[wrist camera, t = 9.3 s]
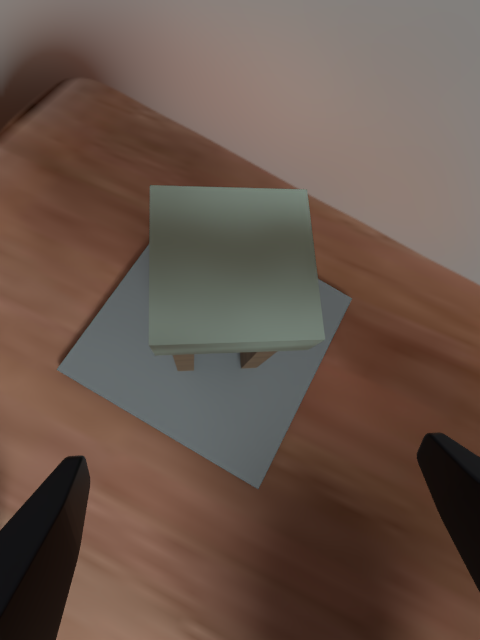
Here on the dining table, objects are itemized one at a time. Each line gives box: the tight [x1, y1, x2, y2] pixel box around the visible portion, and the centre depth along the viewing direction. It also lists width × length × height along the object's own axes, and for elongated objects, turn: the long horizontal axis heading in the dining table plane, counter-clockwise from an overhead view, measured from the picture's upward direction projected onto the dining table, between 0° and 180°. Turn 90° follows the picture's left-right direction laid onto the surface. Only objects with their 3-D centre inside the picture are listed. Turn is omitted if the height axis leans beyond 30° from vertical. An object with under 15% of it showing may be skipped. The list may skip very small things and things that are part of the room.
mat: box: [57, 245, 352, 489], centre depth 24 cm, size 14×14×1 cm
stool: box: [149, 185, 325, 371], centre depth 18 cm, size 6×6×11 cm
